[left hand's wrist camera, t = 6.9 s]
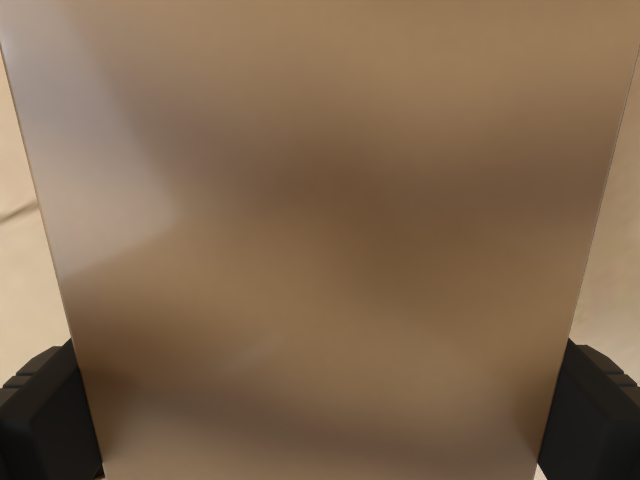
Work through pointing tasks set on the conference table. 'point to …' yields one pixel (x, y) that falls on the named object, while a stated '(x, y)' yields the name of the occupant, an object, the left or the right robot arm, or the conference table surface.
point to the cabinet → (319, 223)
